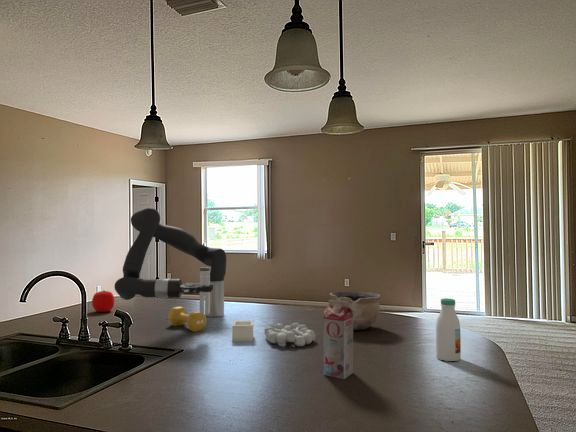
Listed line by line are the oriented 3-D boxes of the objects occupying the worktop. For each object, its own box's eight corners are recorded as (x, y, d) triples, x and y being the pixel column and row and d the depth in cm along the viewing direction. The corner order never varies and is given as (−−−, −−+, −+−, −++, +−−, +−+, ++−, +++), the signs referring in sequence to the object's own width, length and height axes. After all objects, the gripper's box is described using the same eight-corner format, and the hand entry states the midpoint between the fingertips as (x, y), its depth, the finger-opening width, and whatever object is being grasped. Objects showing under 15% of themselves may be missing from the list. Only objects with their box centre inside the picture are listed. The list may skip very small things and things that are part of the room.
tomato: (109, 313, 216) (109, 292, 216) (88, 313, 216) (88, 292, 216) (117, 309, 227) (118, 289, 227) (98, 309, 227) (98, 288, 227)
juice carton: (344, 379, 125) (344, 303, 125) (323, 375, 129) (323, 301, 129) (353, 372, 131) (353, 300, 131) (333, 368, 134) (333, 298, 135)
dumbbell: (208, 329, 184) (208, 310, 184) (190, 333, 177) (190, 313, 178) (183, 322, 197) (183, 305, 197) (166, 326, 190) (166, 307, 190)
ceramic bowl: (322, 331, 181) (322, 295, 181) (336, 320, 201) (336, 288, 202) (375, 336, 173) (375, 299, 173) (384, 324, 193) (384, 291, 193)
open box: (233, 335, 173) (233, 321, 173) (253, 335, 174) (253, 320, 174) (232, 341, 165) (232, 325, 165) (252, 341, 166) (253, 325, 166)
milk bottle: (449, 363, 139) (448, 302, 140) (431, 357, 146) (430, 298, 146) (465, 360, 143) (465, 300, 143) (447, 354, 150) (447, 296, 150)
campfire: (249, 340, 167) (250, 325, 167) (287, 331, 183) (287, 317, 183) (291, 353, 152) (291, 336, 152) (327, 341, 168) (328, 326, 168)
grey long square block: (200, 312, 172) (201, 267, 172) (209, 312, 172) (209, 267, 173) (199, 314, 169) (199, 268, 169) (208, 314, 169) (208, 268, 169)
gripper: (164, 281, 163) (210, 281, 164) (172, 276, 177) (214, 276, 178) (164, 301, 163) (210, 300, 164) (172, 294, 177) (214, 294, 178)
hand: (212, 288), depth 171 cm, fingers closed on grey long square block, 3 cm apart
